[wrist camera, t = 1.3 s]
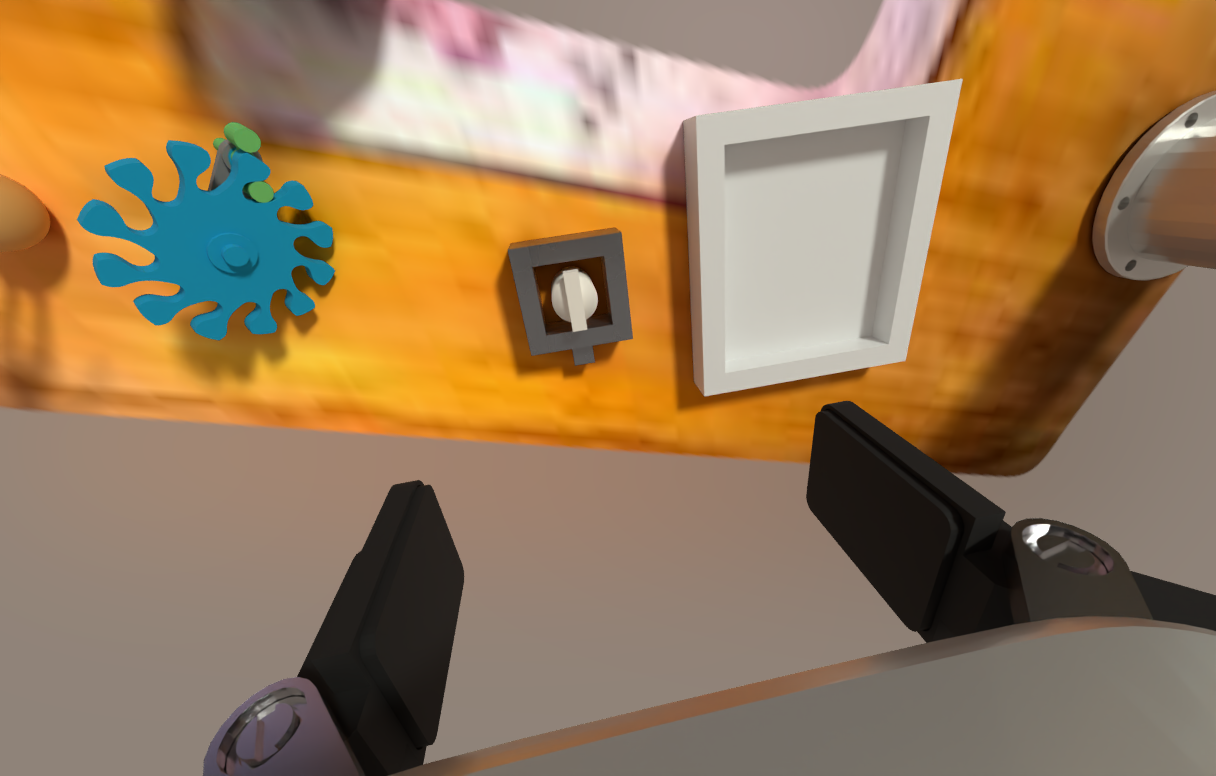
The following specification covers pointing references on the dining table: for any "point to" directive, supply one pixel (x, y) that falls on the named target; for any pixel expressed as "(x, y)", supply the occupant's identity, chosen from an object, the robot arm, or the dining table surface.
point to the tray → (811, 232)
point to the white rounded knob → (574, 296)
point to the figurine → (20, 217)
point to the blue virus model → (212, 236)
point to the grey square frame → (561, 332)
